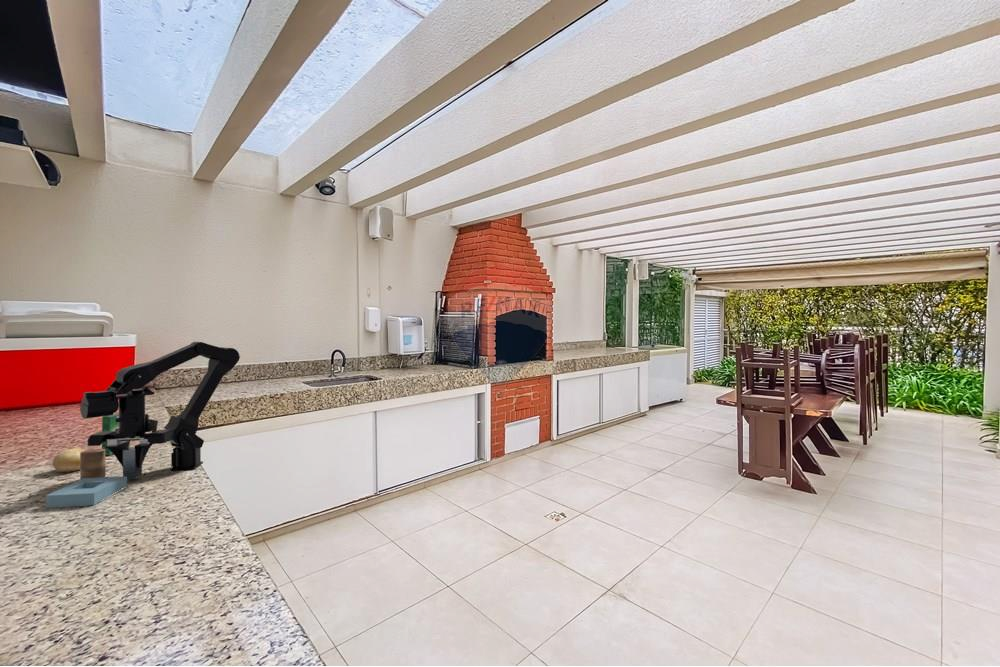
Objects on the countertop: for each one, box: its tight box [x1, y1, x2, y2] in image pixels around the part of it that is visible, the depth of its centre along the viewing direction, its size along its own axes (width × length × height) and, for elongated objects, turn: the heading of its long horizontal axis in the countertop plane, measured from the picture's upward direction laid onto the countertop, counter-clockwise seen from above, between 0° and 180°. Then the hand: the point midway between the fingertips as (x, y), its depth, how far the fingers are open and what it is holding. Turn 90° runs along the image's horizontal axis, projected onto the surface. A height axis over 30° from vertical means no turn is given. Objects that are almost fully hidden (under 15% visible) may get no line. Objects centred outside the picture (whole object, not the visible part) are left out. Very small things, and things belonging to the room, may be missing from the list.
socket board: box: [45, 475, 128, 509], centre depth 112 cm, size 10×12×3 cm
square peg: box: [122, 446, 143, 480], centre depth 124 cm, size 3×3×8 cm
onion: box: [52, 445, 85, 473], centre depth 132 cm, size 8×8×7 cm
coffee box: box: [101, 413, 131, 456], centre depth 149 cm, size 8×3×13 cm, turn 178°
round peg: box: [79, 448, 107, 480], centre depth 124 cm, size 5×5×8 cm
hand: (132, 467), depth 124 cm, fingers closed on square peg, 3 cm apart
